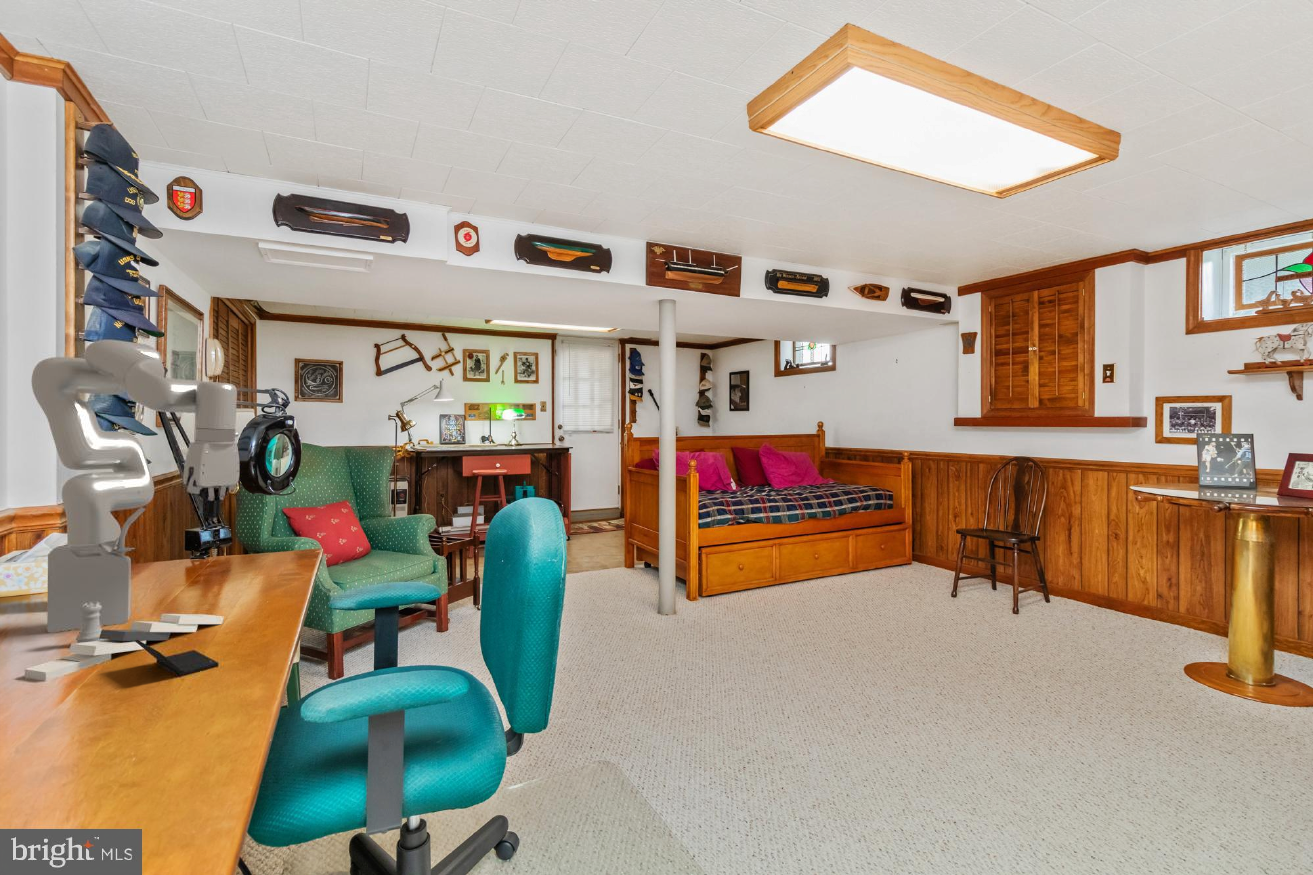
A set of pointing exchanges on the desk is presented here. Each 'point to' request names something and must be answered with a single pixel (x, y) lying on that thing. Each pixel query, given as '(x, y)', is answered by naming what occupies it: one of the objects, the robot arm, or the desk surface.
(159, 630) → the domino
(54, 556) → the fuel canister
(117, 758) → the desk surface
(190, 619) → the domino
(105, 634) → the domino
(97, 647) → the domino
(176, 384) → the robot arm
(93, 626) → the rook chess piece
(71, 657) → the domino
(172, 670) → the handheld gaming console
